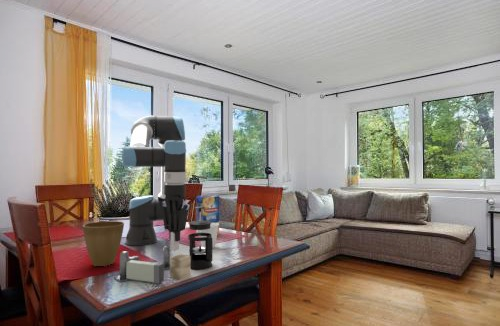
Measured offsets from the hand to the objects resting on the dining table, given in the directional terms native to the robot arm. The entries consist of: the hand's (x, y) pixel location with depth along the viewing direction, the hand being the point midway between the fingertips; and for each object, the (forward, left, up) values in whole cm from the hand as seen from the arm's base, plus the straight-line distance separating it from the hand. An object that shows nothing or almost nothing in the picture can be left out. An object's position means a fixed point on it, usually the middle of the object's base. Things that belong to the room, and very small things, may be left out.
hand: (174, 249), depth 112 cm
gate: (-7, -8, -8) cm, 14 cm away
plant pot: (-33, +7, -9) cm, 35 cm away
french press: (+6, +10, -9) cm, 15 cm away
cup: (+1, +38, -9) cm, 40 cm away
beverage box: (-7, +64, -9) cm, 65 cm away
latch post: (-6, +7, -9) cm, 13 cm away
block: (+3, -2, -9) cm, 10 cm away
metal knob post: (-15, -5, -9) cm, 18 cm away
